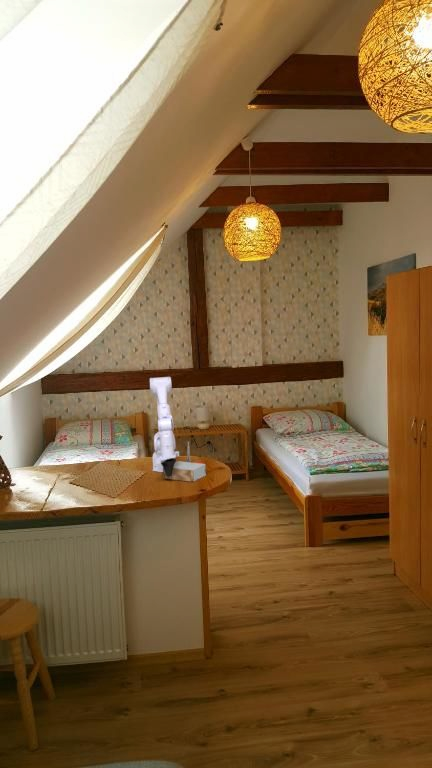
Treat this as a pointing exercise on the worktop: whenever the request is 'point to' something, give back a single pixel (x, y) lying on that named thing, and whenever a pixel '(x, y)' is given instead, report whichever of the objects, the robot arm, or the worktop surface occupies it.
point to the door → (180, 475)
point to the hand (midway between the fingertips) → (169, 475)
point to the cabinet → (192, 468)
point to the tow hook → (189, 453)
